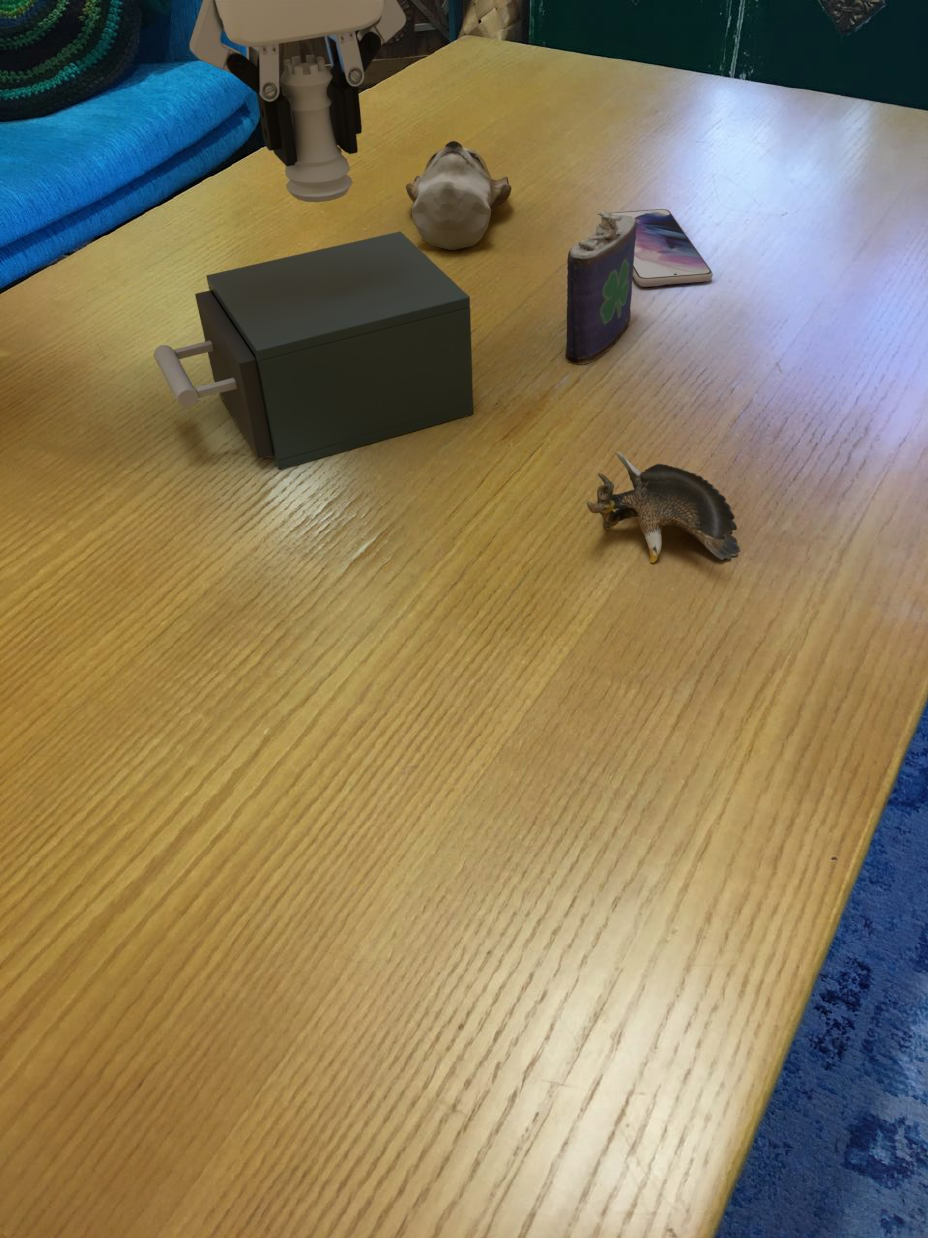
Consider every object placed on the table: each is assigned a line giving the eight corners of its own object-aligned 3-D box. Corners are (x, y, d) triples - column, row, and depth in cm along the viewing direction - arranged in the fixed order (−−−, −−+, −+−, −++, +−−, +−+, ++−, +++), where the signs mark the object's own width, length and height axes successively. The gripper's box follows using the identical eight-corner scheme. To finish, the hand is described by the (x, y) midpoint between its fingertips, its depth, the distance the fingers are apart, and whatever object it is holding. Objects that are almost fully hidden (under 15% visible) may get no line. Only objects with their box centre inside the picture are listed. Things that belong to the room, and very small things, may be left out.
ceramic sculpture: (387, 164, 95) (407, 117, 106) (393, 259, 100) (412, 205, 112) (506, 165, 94) (514, 117, 106) (505, 261, 100) (513, 206, 111)
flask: (608, 312, 92) (617, 188, 85) (639, 320, 91) (651, 195, 84) (557, 360, 87) (562, 231, 79) (590, 369, 85) (597, 240, 78)
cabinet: (278, 470, 77) (256, 350, 70) (229, 388, 85) (205, 274, 78) (473, 414, 81) (470, 296, 75) (408, 342, 90) (400, 230, 83)
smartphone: (668, 207, 106) (715, 273, 95) (667, 215, 106) (714, 282, 95) (599, 212, 105) (638, 279, 94) (598, 220, 106) (637, 288, 95)
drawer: (200, 476, 75) (176, 378, 69) (161, 399, 82) (137, 306, 77) (442, 408, 80) (437, 312, 75) (385, 341, 88) (377, 250, 82)
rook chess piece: (278, 185, 72) (259, 56, 67) (341, 173, 73) (327, 46, 68) (297, 208, 69) (279, 76, 64) (362, 196, 70) (350, 64, 65)
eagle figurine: (586, 569, 66) (736, 568, 63) (583, 452, 65) (735, 446, 62) (610, 556, 73) (745, 555, 70) (607, 451, 72) (745, 445, 69)
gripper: (388, -219, 62) (409, 114, 74) (103, -193, 57) (177, 158, 70) (441, -207, 57) (454, 148, 69) (133, -177, 52) (207, 198, 65)
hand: (314, 150), depth 69 cm, fingers closed on rook chess piece, 3 cm apart
